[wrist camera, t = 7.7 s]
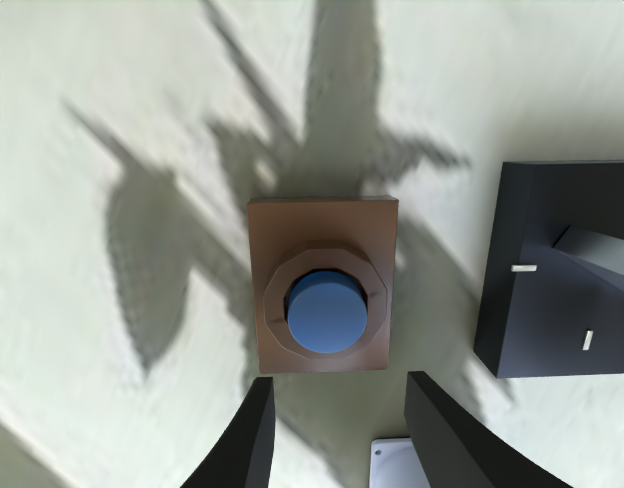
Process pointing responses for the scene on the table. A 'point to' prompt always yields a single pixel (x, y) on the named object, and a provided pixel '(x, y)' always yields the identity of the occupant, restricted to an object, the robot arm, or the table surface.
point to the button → (326, 312)
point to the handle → (595, 253)
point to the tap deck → (551, 273)
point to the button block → (314, 258)
